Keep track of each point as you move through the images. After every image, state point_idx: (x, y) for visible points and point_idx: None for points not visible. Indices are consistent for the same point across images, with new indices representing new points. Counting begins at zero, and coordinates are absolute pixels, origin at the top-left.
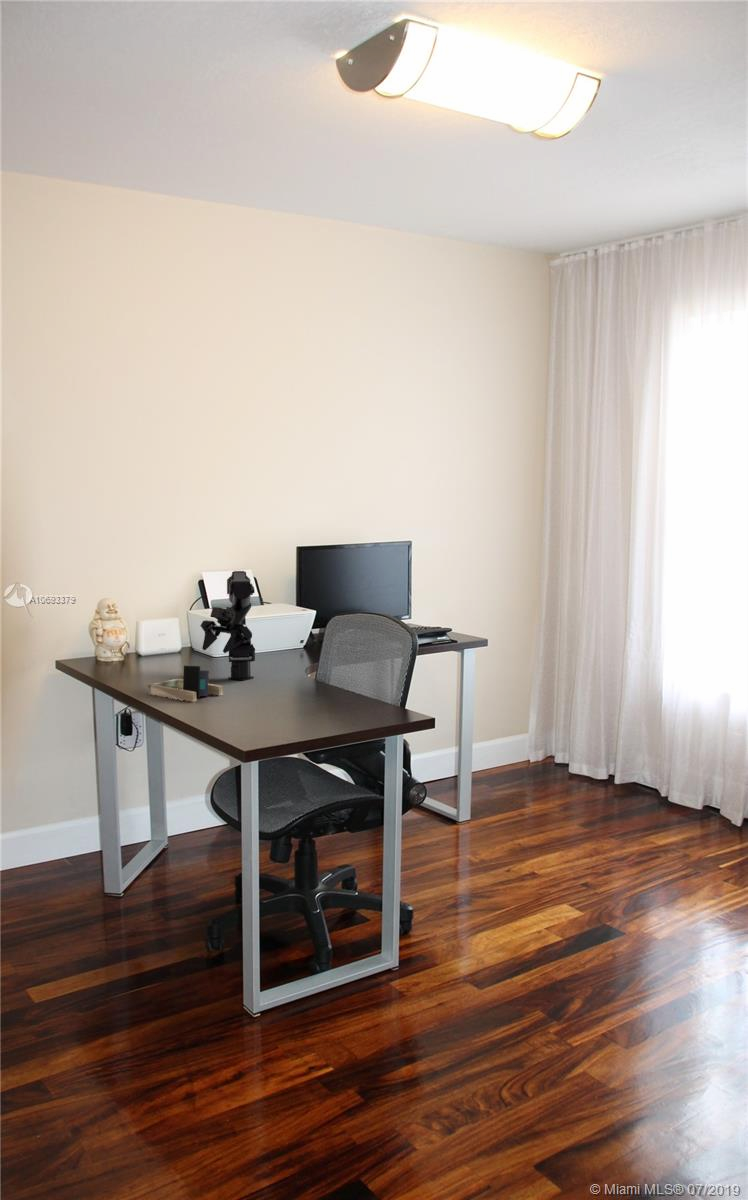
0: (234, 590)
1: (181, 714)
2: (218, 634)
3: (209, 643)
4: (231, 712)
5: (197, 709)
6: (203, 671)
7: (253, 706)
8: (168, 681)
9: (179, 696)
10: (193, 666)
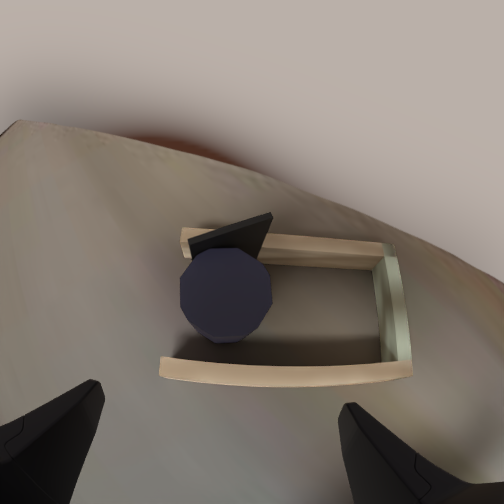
0: None
1: (141, 156)
2: None
3: (360, 486)
4: (52, 216)
5: (130, 197)
6: (184, 272)
7: (26, 287)
8: (396, 320)
9: None
10: (222, 229)
